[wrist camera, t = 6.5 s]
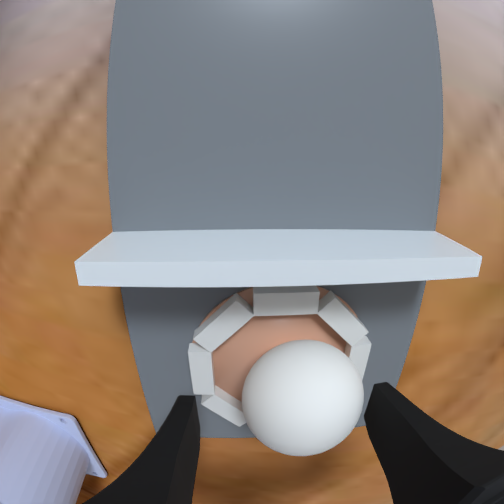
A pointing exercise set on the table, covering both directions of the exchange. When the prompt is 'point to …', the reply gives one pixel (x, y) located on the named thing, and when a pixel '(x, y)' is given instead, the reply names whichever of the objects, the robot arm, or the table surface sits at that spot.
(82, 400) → the table surface
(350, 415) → the ball
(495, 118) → the table surface
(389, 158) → the board
